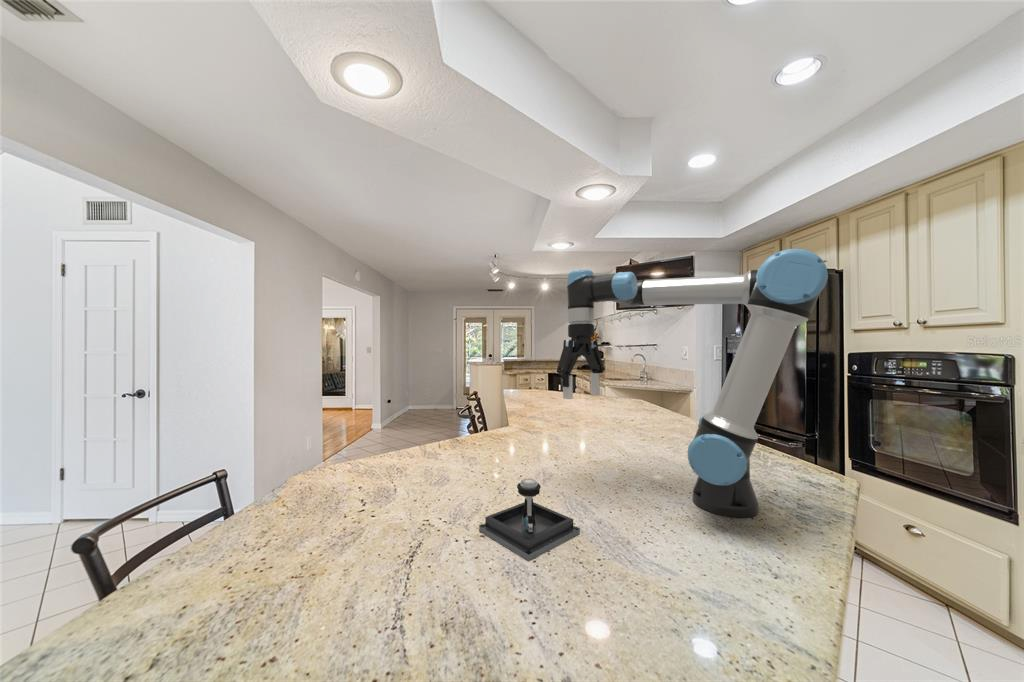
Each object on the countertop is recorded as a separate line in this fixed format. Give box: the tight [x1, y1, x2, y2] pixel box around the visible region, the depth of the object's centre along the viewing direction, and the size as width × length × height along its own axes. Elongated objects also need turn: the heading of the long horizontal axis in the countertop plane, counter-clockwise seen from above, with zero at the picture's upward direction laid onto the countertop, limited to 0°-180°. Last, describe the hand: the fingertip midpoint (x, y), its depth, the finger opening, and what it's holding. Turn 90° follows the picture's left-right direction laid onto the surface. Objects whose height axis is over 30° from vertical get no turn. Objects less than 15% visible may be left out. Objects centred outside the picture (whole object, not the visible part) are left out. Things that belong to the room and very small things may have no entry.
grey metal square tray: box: [478, 501, 581, 562], centre depth 83 cm, size 16×16×3 cm
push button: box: [516, 478, 542, 532], centre depth 83 cm, size 7×5×10 cm
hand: (582, 396), depth 107 cm, fingers open, 13 cm apart
